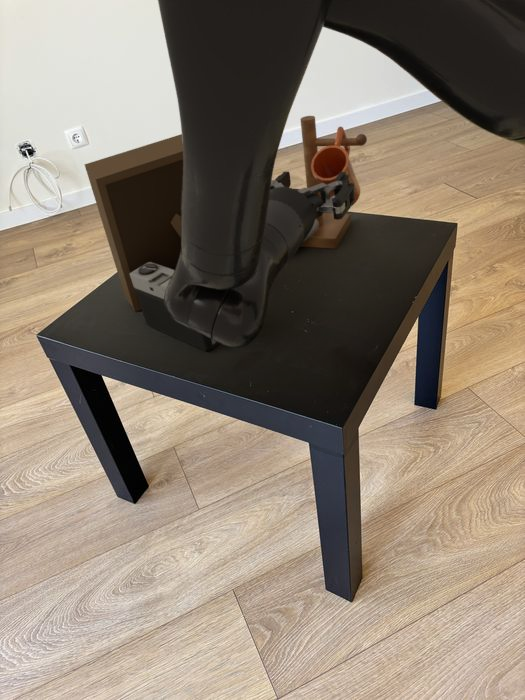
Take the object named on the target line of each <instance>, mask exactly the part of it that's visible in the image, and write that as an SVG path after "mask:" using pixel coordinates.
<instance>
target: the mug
mask: <svg viewBox="0 0 525 700" xmlns="http://www.w3.org/2000/svg"><path fill="white" fill-rule="evenodd" d="M335 138H336V139H335V144H334V146H323V147H322V148H321V149H319V150H318V152H317V153H316V154H315V156H314V157H313V159H312V163H311V170H312V173H313V175H314V177H315V179H316V181H317V183H318V184H320V183H324V184H326V185H327V184H330V183H332V182H334V180H335V179H336V177H337V176H338V174H339V173H340V172H346V175H349V183H353V184H354V195H355V202H354V203H353V205H352V206H354V205H355V204H356V203H357V202H358V200H359V199H360V196H361V187H360V183H359V181H358V178H357V175H356V173H355V170H354V167H353V164H352V162H351V159H350V154H351V146H340V145H341V140H342V138H348V137H347V134H346V132H345V129H344V127H343V126H338V127H337V129H336V134H335ZM332 196H334V190H332V191H330V197H332Z"/></svg>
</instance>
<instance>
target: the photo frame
mask: <svg viewBox="0 0 525 700" xmlns="http://www.w3.org/2000/svg"><path fill="white" fill-rule="evenodd" d="M84 168H85V170H86V171H85V172H86V174H87V177H88V180H89V184H90V187H91V191H92V194H93V197H94V201H95V203H96V206H97V210H98V213H99V217H100V219H101V223H102V226H103V230H104V233H105V237H106V239H107V243H108V246H109V249H110V252H111V255H112V258H113V259H112V260H113V262H114V265H115V268H116V269H115V270H116V272H117V275H118V278H119V281H120V285H121V289H122V291H123V294H124V297H125V299H126V300H127V302H128V304H129V305H130V307H131V308H132V310H133V311H134V313H136V312H140V311H142V308H141V305H140V303H139V300H138V297H137V294H136V291H135V290H136V289H134V286H133V283H132V280H131V277H130V273H131V272H133V271H134V270H136V269H138V268H139V267H141V266H143V265H144V264H146V263H148V262H152V263H155V264H158V265H161V266H164V267H167V268H170V269H173V270H175V269H176V266H177V263H178V259H179V256H180V251H181V189H182V173H183V143H182V133H180V134H177V135H174V136H171V137H168V138H164V139H161V140H159V141H155V142H152V143H149V144H145V145H143V146H140V147H139V146H138V147H136V148H133V149H129V150H126V151H123V152H119V153H117V154H113V155H111V156H107V157H104V158H100V159H98V160H94V161H90V162H88V163H84Z"/></svg>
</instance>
